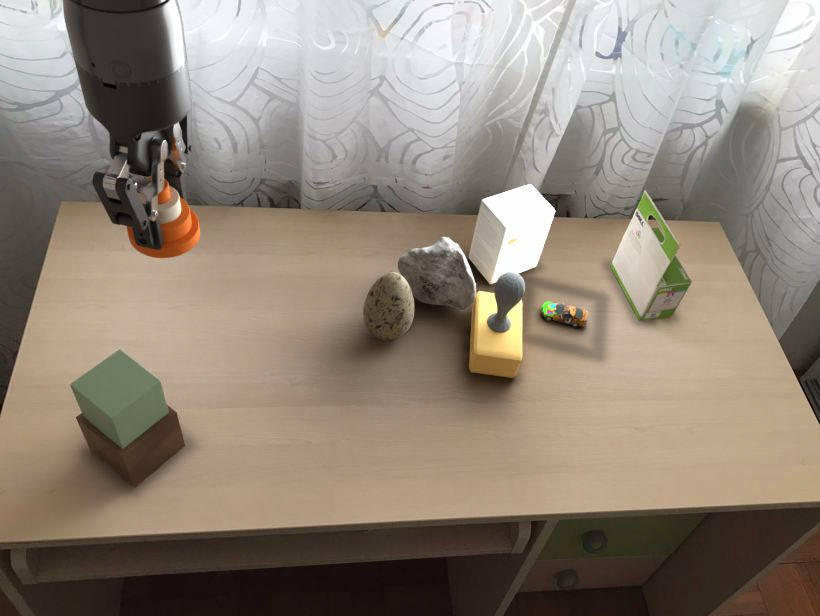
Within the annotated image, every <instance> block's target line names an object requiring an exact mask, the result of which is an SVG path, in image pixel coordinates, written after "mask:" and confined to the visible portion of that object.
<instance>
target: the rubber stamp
mask: <svg viewBox="0 0 820 616" xmlns="http://www.w3.org/2000/svg"><path fill="white" fill-rule="evenodd" d="M525 292H526V282H525V280H524V277H522V275H521V274H520V273H515V272H506V273H504V274H503V275H501V276H500V277H499V278H498V280H497V282H495V285H494V288H493V292H489V291H483V290H482V291H481V290H479V291H477V292H476V297H475V299H474V301H473V303H472V308H471V321H470V323H471V324H470V341H469V342H470V343H469V360H468V361H469V362H468V368H469V371H470V373H474V374H482V375H488V376H497V377H502V378H503V377H505V378H509V379H510V378H511V379H514V378H515V377H516V376H517V374H518V373H519V369H520V367H521V364H522V361H523V300H522V299H523V298H524V295H525Z"/></svg>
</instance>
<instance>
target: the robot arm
mask: <svg viewBox="0 0 820 616" xmlns="http://www.w3.org/2000/svg"><path fill="white" fill-rule="evenodd" d="M62 11H63V18H64V19H63V20H64V24H65V29H66V33H67V36H68V40H69V45H70V48H71V49H70V50H71V52H72V56H73V61H74V64H75V68H76V72H77V75H78V76H77V77H78V81H79V85H80V88H81V93H82V96H83V101H84V105H85V107H86V109H87V111H88V112H89V114H90V115H91V116H92V117H93V118H94V119H95V120H96V121H97V122H98V123H100V125H102V126H103V127H104V129H106V131H107V132H108V134H109V136H108V137H109V145H108V152H109V155H110V158H111V160H112V161H111V163H110V166H109V167H108V170H107V172H102V171H95V172H94V174H93V176H92V186H93V188H94V190H95V193H96V194H97V196H98V198H99V200H100V202H101V204H102V206H103V208H104V210H105V212H106V214H107V216H108V218H109V221H111V223H112V225H117V226H125V227H127V226H129V227H132V230H133V234H134V238H135V243H136V244H137V245H138V246H141V247H146V248H150V249H155V250H160V249H161V247H162V245H163V244H164V239H163V234H162V228H161V223H160V217H159V214H158V194H159V193H160V192H161V191H163V189H164V179H166V180H167V181H168V184H169V186H171V187H173V188H174V189H175V190H176V191H177V192H178V194H179V197H181V198H182V199H184V200H185V201H186V202H187V203H188V200H187V191H186V186H185V177H184V173H185V171H186V169H187V160H186V158H185V155H191V154H192V152H193V149H194V141H193V140H194V139H193V137H194V135H193V134H194V133H193V90H192V87H191V80H190V71H189V63H188V54H187V46H186V37H185V28H184V21H183V16H182V11H181V8H180V5H179V1H178V0H62ZM132 175H137V176H141V177H144V178H139V177H135V176H132ZM150 177H152V181H149V180H146V179H145V178H150ZM138 193H141V194H144V195H145V196H146V204H143V203H142V202H141V200H140V198H139V195H138Z"/></svg>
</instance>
